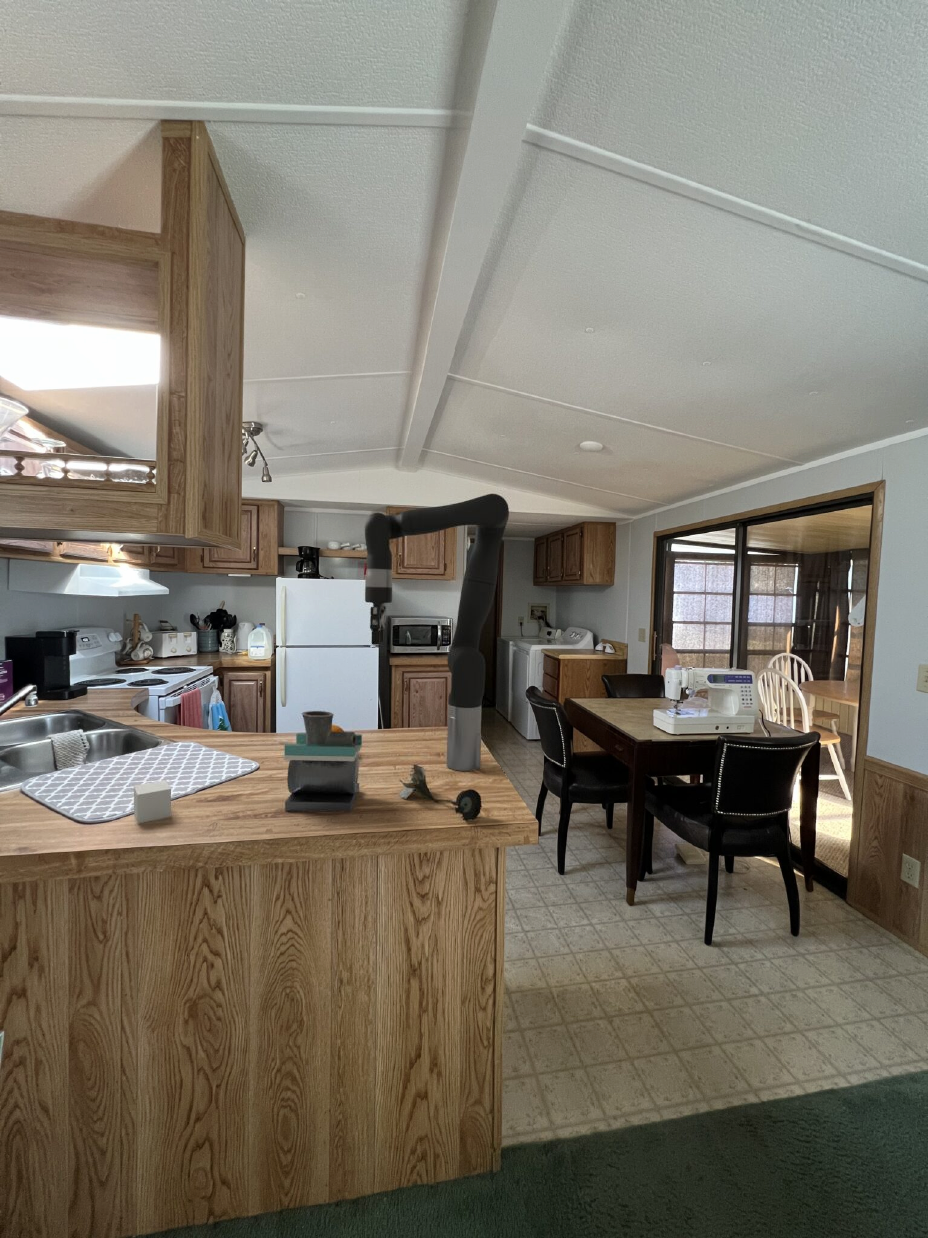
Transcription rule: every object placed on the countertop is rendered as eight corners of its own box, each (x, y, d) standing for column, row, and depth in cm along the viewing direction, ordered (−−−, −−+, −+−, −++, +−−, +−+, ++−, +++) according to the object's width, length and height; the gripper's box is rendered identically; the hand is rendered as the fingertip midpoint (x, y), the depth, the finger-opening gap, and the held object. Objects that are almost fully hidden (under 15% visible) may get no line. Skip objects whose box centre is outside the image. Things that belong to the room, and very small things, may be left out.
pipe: (349, 754, 117) (350, 718, 117) (295, 750, 119) (295, 714, 119) (359, 747, 123) (360, 712, 123) (307, 742, 125) (308, 709, 125)
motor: (361, 791, 128) (362, 733, 127) (352, 812, 116) (353, 748, 115) (297, 790, 127) (298, 732, 127) (282, 811, 115) (283, 746, 115)
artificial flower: (456, 833, 110) (443, 789, 109) (396, 810, 128) (385, 772, 126) (486, 811, 116) (474, 769, 115) (425, 792, 133) (415, 755, 132)
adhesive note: (133, 813, 112) (133, 785, 112) (166, 807, 116) (166, 780, 116) (137, 824, 107) (137, 794, 107) (171, 817, 111) (171, 788, 111)
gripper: (389, 585, 143) (388, 646, 144) (394, 586, 158) (393, 641, 158) (361, 585, 143) (360, 645, 144) (369, 585, 157) (367, 640, 158)
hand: (377, 643), depth 151 cm, fingers open, 8 cm apart
